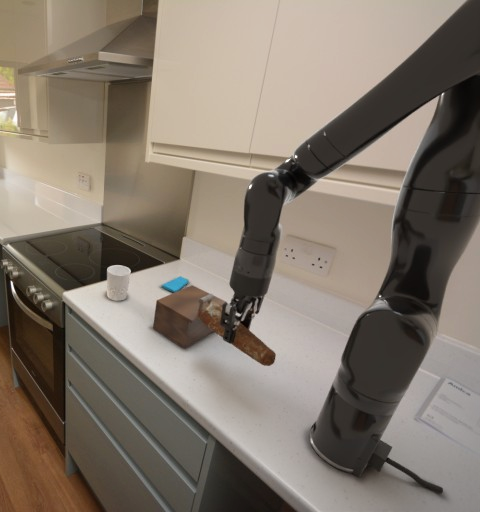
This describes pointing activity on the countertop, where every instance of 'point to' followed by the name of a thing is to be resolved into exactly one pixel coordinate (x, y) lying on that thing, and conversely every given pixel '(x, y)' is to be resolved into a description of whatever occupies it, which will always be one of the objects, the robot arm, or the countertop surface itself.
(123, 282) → the white cup
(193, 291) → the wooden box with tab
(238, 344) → the bread
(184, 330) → the bread bin
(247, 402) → the countertop surface
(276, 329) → the countertop surface
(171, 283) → the sponge
